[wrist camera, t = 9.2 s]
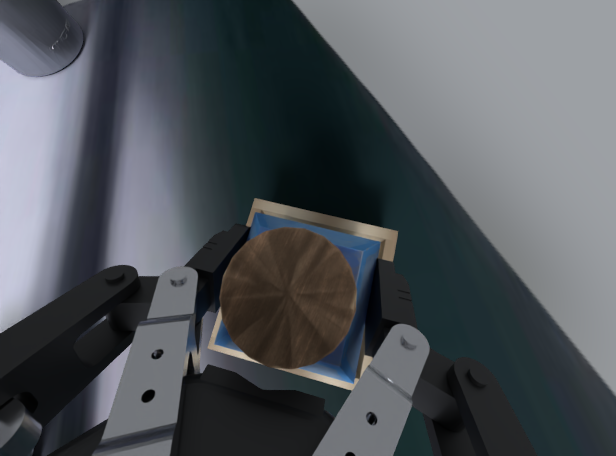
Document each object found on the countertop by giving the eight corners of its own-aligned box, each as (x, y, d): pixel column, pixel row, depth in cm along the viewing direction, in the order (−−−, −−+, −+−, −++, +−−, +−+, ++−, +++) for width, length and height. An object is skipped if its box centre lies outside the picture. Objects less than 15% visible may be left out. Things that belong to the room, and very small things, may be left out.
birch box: (230, 335, 23) (207, 348, 18) (266, 215, 25) (254, 198, 20) (357, 371, 22) (369, 395, 17) (381, 242, 24) (398, 231, 19)
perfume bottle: (274, 237, 18) (206, 147, 7) (358, 257, 18) (441, 199, 6) (249, 324, 17) (109, 402, 5) (339, 349, 17) (400, 494, 5)
